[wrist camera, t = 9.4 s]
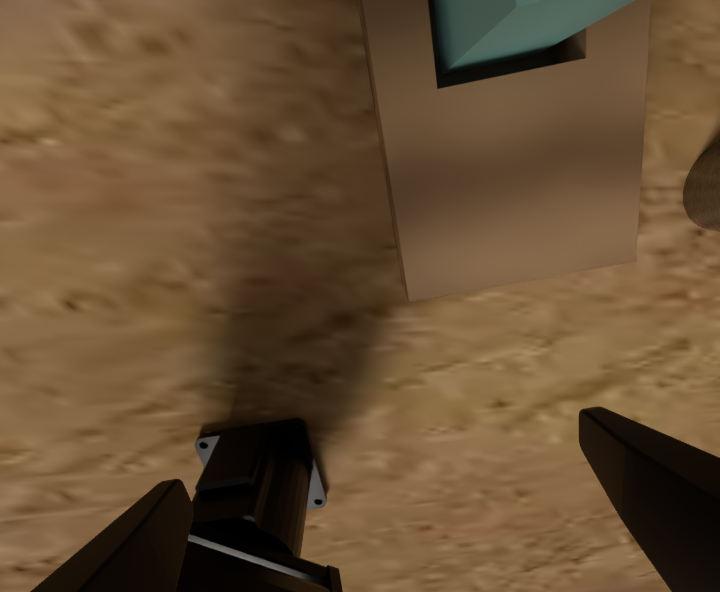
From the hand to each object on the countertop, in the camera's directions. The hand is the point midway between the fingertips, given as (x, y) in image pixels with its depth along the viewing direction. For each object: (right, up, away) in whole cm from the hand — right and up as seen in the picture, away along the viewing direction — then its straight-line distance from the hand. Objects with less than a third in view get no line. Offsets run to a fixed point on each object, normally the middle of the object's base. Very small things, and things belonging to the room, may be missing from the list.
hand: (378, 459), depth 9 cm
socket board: (+5, +13, +8) cm, 16 cm away
